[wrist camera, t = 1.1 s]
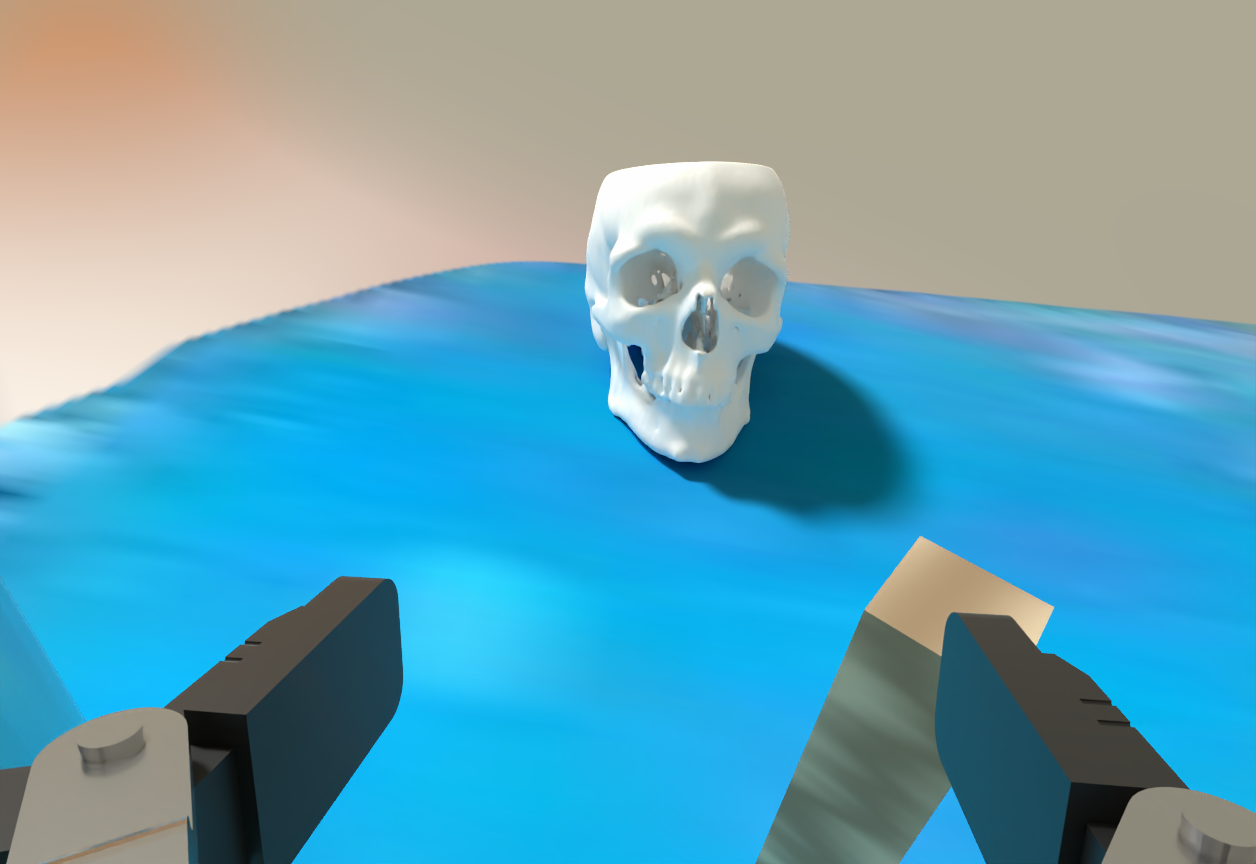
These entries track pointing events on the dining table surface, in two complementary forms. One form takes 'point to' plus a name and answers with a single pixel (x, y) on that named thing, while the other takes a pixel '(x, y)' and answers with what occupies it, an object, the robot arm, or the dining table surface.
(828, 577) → the dining table surface
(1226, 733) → the dining table surface
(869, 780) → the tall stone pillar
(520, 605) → the dining table surface
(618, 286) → the skull planter
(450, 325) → the dining table surface
